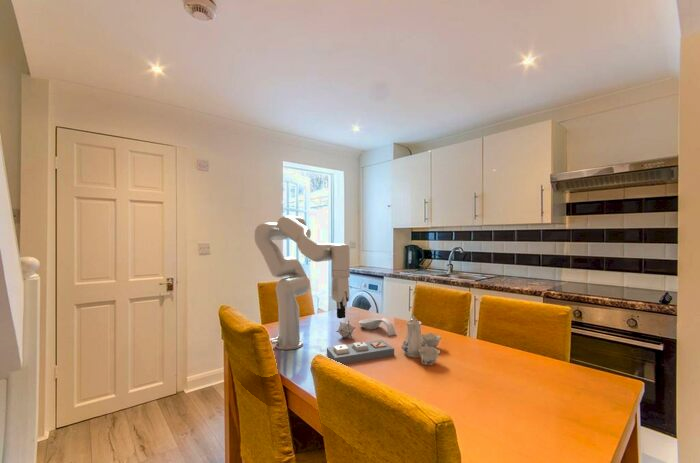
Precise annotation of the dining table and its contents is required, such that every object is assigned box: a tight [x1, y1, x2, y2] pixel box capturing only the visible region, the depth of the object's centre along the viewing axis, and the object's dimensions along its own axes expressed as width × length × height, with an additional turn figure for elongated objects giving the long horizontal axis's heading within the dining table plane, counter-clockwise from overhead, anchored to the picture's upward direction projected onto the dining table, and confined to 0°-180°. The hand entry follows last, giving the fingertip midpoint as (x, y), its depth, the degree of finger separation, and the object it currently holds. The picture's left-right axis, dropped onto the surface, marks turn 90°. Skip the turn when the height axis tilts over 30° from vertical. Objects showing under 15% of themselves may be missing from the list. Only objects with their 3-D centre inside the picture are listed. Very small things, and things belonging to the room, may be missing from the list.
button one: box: [333, 343, 349, 354], centre depth 134 cm, size 5×5×3 cm
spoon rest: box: [358, 317, 396, 337], centre depth 172 cm, size 24×12×7 cm, turn 37°
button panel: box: [326, 339, 395, 365], centre depth 137 cm, size 26×12×3 cm, turn 110°
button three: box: [371, 342, 386, 348], centre depth 140 cm, size 5×5×3 cm
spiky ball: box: [335, 320, 356, 340], centre depth 160 cm, size 9×8×10 cm
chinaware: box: [401, 315, 442, 366], centre depth 136 cm, size 28×17×17 cm, turn 168°
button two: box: [352, 341, 368, 351], centre depth 137 cm, size 5×5×3 cm
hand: (341, 317), depth 134 cm, fingers closed
